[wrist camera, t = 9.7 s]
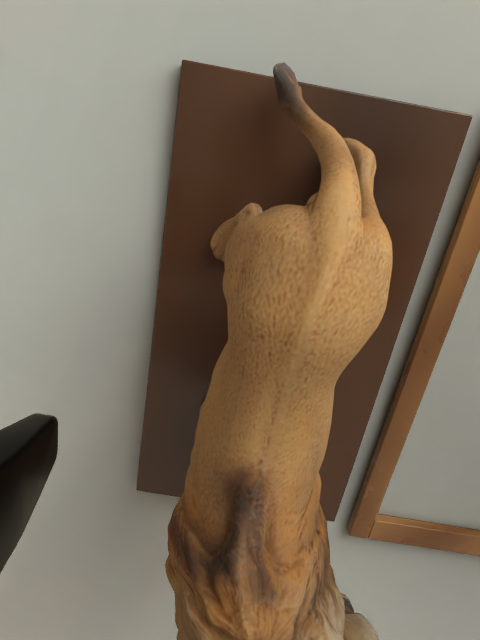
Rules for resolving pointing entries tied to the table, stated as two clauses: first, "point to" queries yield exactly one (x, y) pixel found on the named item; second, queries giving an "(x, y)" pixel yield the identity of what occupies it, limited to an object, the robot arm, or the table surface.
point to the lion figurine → (280, 404)
